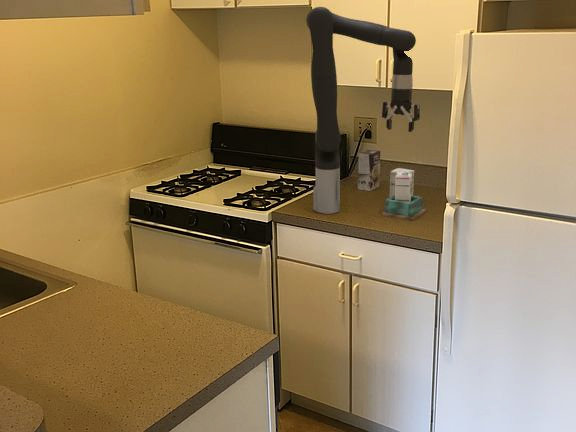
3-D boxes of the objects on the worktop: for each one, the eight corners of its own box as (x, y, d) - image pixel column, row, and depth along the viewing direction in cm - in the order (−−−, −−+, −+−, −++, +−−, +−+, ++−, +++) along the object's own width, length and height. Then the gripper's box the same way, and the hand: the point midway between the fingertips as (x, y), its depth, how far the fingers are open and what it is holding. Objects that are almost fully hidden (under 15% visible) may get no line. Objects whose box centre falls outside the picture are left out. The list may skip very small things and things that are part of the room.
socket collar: (380, 215, 241) (381, 200, 239) (394, 206, 251) (395, 192, 249) (413, 221, 234) (413, 205, 232) (426, 211, 244) (427, 196, 243)
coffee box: (370, 191, 274) (371, 154, 269) (357, 189, 277) (357, 152, 272) (379, 186, 281) (381, 150, 276) (366, 184, 284) (367, 149, 279)
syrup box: (409, 213, 239) (411, 176, 235) (393, 212, 241) (395, 175, 236) (411, 209, 244) (412, 172, 240) (395, 208, 246) (396, 171, 242)
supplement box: (388, 201, 259) (389, 171, 255) (397, 197, 265) (398, 167, 261) (405, 204, 255) (406, 173, 251) (413, 200, 260) (414, 169, 256)
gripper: (379, 86, 236) (378, 130, 241) (415, 89, 229) (413, 134, 233) (388, 84, 242) (387, 127, 247) (424, 87, 234) (421, 130, 239)
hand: (399, 130), depth 240 cm, fingers open, 8 cm apart
